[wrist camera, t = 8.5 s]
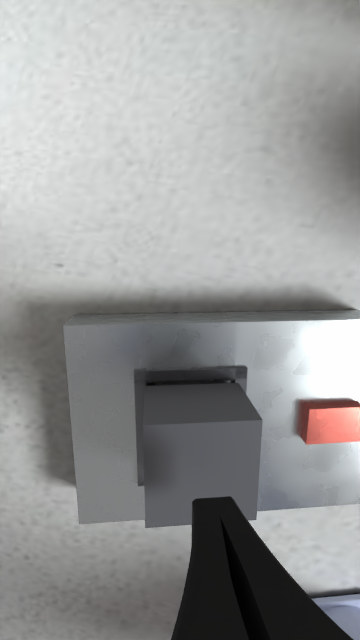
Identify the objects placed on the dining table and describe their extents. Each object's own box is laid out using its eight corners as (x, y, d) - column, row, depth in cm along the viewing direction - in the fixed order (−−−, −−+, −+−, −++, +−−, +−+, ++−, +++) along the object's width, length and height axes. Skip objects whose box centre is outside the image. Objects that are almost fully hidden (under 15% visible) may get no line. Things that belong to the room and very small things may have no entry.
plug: (222, 432, 20) (256, 519, 13) (147, 436, 19) (145, 528, 13) (225, 361, 19) (262, 419, 12) (145, 363, 18) (143, 425, 12)
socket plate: (336, 474, 21) (367, 511, 18) (88, 490, 20) (76, 533, 17) (357, 309, 19) (396, 321, 16) (75, 314, 17) (59, 328, 14)
